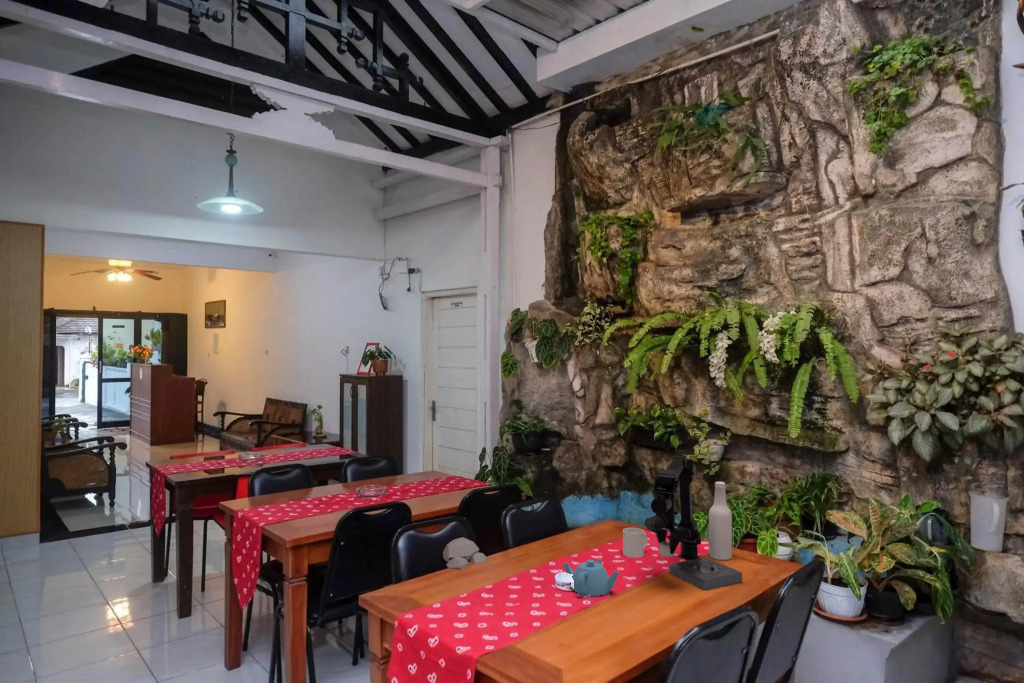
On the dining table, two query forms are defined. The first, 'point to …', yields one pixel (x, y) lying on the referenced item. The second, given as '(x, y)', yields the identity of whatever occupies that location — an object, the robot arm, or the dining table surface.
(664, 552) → the cap
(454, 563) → the rock
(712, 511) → the alcohol
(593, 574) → the teapot
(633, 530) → the mug
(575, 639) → the dining table surface
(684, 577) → the dark grey square base
